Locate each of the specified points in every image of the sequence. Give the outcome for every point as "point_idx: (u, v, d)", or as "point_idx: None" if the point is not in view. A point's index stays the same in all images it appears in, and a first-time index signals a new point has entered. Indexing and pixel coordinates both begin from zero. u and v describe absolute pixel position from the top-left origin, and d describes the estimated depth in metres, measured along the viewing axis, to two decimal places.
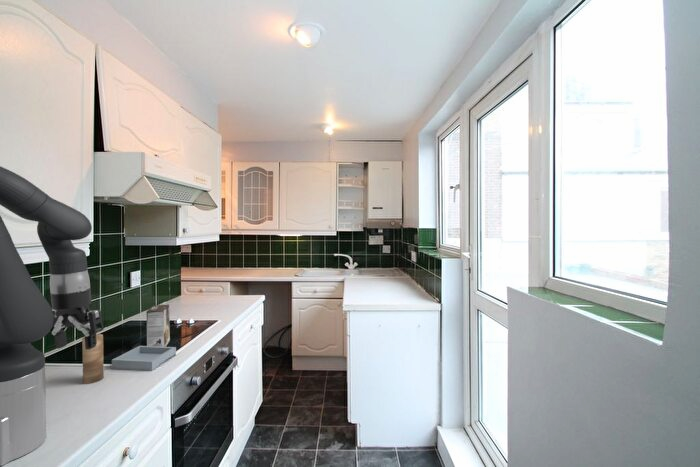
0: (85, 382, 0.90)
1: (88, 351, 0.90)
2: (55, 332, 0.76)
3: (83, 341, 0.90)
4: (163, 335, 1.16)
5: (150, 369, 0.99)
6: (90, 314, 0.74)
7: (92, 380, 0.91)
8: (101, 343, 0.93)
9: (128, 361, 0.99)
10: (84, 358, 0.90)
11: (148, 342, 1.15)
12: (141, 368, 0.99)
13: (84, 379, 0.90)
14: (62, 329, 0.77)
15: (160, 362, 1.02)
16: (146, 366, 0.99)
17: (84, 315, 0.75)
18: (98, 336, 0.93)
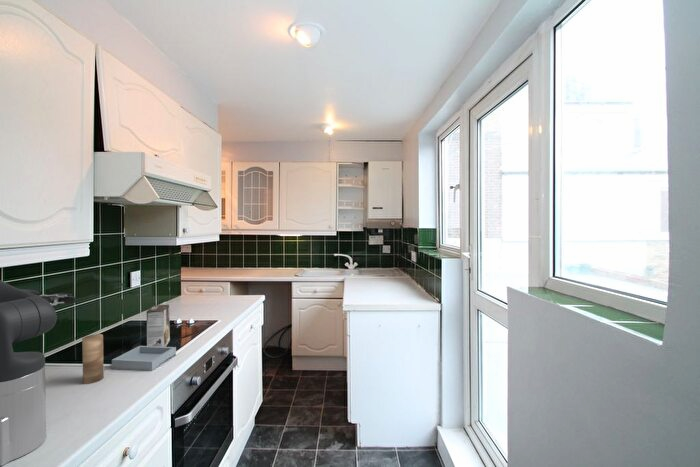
0: (85, 382, 0.90)
1: (88, 351, 0.90)
2: None
3: (83, 341, 0.90)
4: (163, 335, 1.16)
5: (150, 369, 0.99)
6: (56, 293, 1.01)
7: (92, 380, 0.91)
8: (101, 343, 0.93)
9: (128, 361, 0.99)
10: (84, 358, 0.90)
11: (148, 342, 1.15)
12: (141, 368, 0.99)
13: (84, 379, 0.90)
14: None
15: (160, 362, 1.02)
16: (146, 366, 0.99)
17: None
18: (98, 336, 0.93)
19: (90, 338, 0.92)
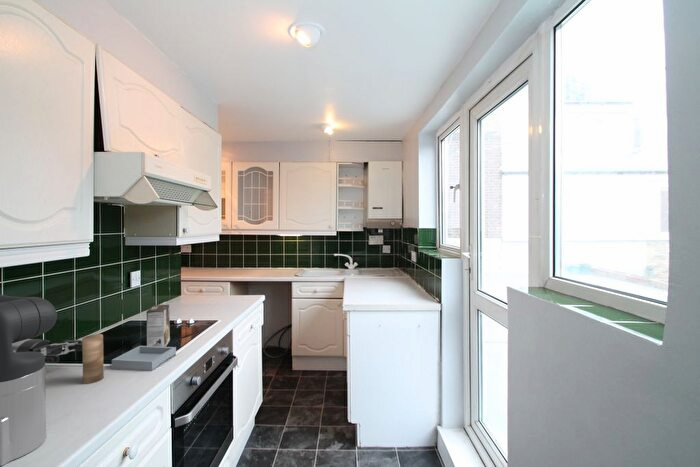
0: (85, 382, 0.90)
1: (88, 351, 0.90)
2: (45, 354, 0.89)
3: (83, 341, 0.90)
4: (163, 335, 1.16)
5: (150, 369, 0.99)
6: (66, 340, 1.00)
7: (92, 380, 0.91)
8: (101, 343, 0.93)
9: (128, 361, 0.99)
10: (84, 358, 0.90)
11: (148, 342, 1.15)
12: (141, 368, 0.99)
13: (84, 379, 0.90)
14: None
15: (160, 362, 1.02)
16: (146, 366, 0.99)
17: None
18: (98, 336, 0.93)
19: (90, 338, 0.92)
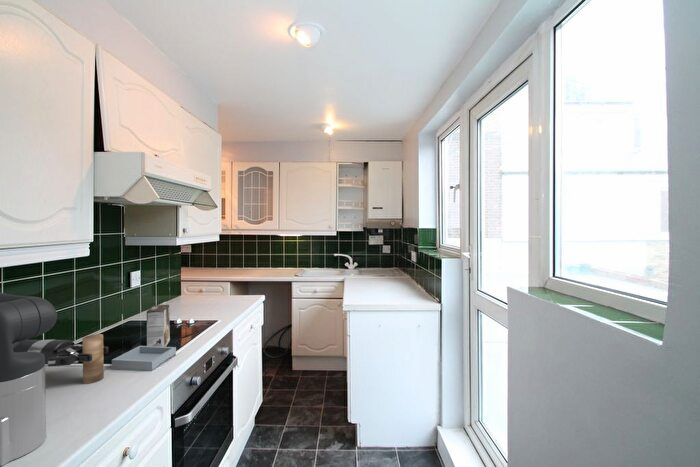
0: (85, 382, 0.90)
1: (88, 351, 0.90)
2: (77, 353, 0.90)
3: (83, 341, 0.90)
4: (163, 335, 1.16)
5: (150, 369, 0.99)
6: None
7: (92, 380, 0.91)
8: (101, 343, 0.93)
9: (128, 361, 0.99)
10: None
11: (148, 342, 1.15)
12: (141, 368, 0.99)
13: (84, 379, 0.90)
14: None
15: (160, 362, 1.02)
16: (146, 366, 0.99)
17: None
18: (99, 336, 0.93)
19: (90, 338, 0.92)
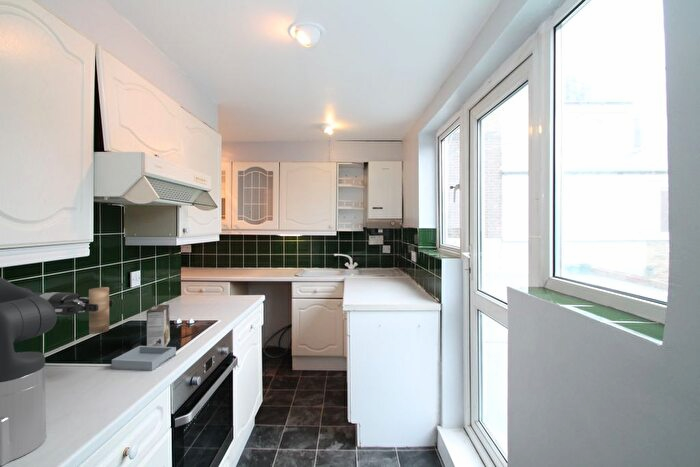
0: (91, 332, 0.91)
1: (94, 301, 0.91)
2: (84, 303, 0.91)
3: (90, 291, 0.91)
4: (163, 335, 1.16)
5: (150, 369, 0.99)
6: None
7: (98, 330, 0.92)
8: (107, 295, 0.94)
9: (128, 361, 0.99)
10: None
11: (148, 342, 1.15)
12: (141, 368, 0.99)
13: (90, 329, 0.92)
14: None
15: (160, 362, 1.02)
16: (146, 366, 0.99)
17: None
18: (105, 288, 0.94)
19: (96, 289, 0.93)
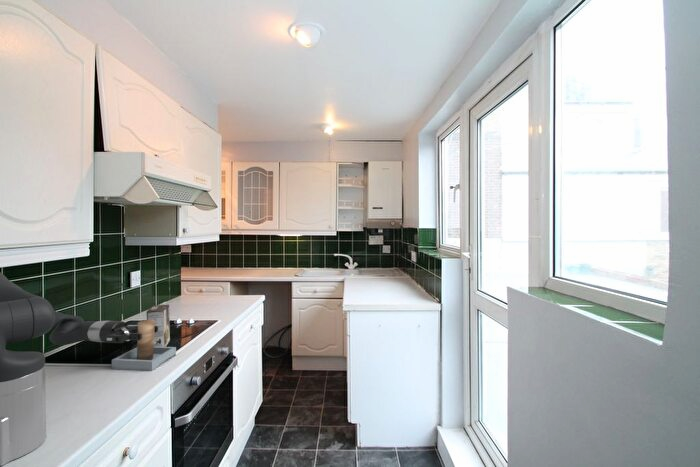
0: None
1: (143, 334, 1.02)
2: (128, 333, 1.01)
3: (139, 325, 1.03)
4: (163, 335, 1.16)
5: (150, 369, 0.99)
6: None
7: (145, 359, 1.03)
8: (153, 327, 1.05)
9: (128, 361, 0.99)
10: (139, 340, 1.02)
11: None
12: (141, 368, 0.99)
13: (138, 358, 1.03)
14: None
15: (160, 362, 1.02)
16: (146, 366, 0.99)
17: None
18: (151, 321, 1.05)
19: (144, 322, 1.04)
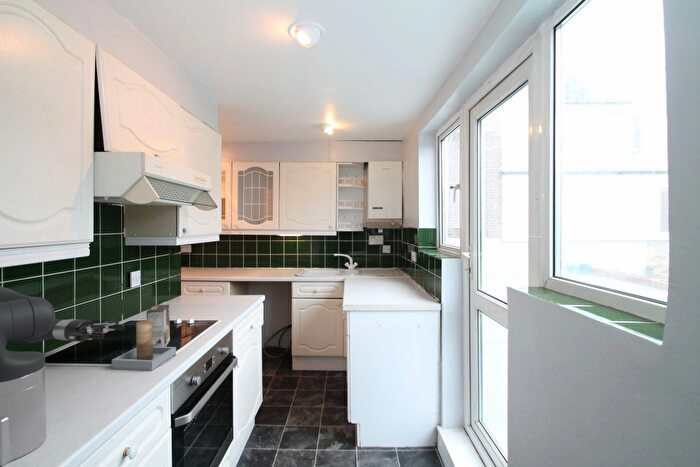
0: None
1: (142, 333, 1.03)
2: (91, 331, 1.02)
3: (137, 325, 1.03)
4: (163, 335, 1.16)
5: (150, 369, 0.99)
6: (105, 321, 1.13)
7: (145, 359, 1.03)
8: (152, 327, 1.05)
9: (128, 361, 0.99)
10: (138, 340, 1.03)
11: None
12: (141, 368, 0.99)
13: (138, 358, 1.03)
14: None
15: (160, 362, 1.02)
16: (146, 366, 0.99)
17: None
18: (150, 321, 1.05)
19: (142, 322, 1.04)
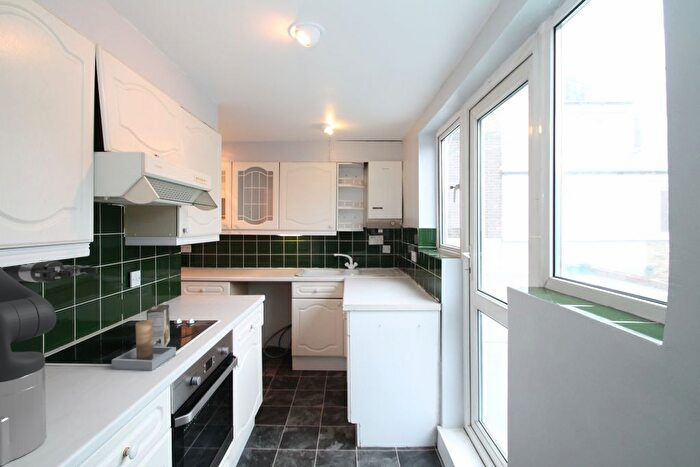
0: None
1: (141, 334, 1.02)
2: (59, 270, 0.95)
3: (136, 325, 1.02)
4: (163, 335, 1.16)
5: (150, 369, 0.99)
6: None
7: None
8: (151, 328, 1.05)
9: (128, 361, 0.99)
10: (137, 340, 1.02)
11: None
12: (141, 368, 0.99)
13: (138, 359, 1.03)
14: None
15: (160, 362, 1.02)
16: (146, 366, 0.99)
17: None
18: (149, 322, 1.04)
19: (142, 323, 1.03)
